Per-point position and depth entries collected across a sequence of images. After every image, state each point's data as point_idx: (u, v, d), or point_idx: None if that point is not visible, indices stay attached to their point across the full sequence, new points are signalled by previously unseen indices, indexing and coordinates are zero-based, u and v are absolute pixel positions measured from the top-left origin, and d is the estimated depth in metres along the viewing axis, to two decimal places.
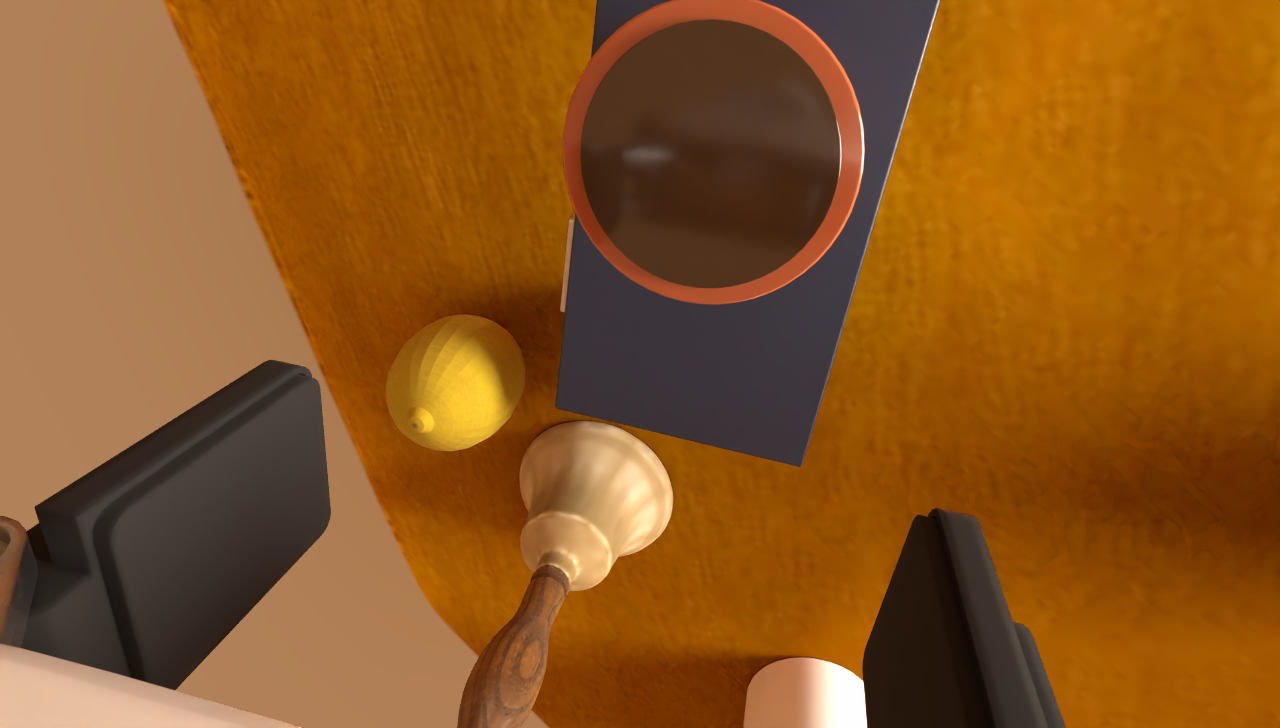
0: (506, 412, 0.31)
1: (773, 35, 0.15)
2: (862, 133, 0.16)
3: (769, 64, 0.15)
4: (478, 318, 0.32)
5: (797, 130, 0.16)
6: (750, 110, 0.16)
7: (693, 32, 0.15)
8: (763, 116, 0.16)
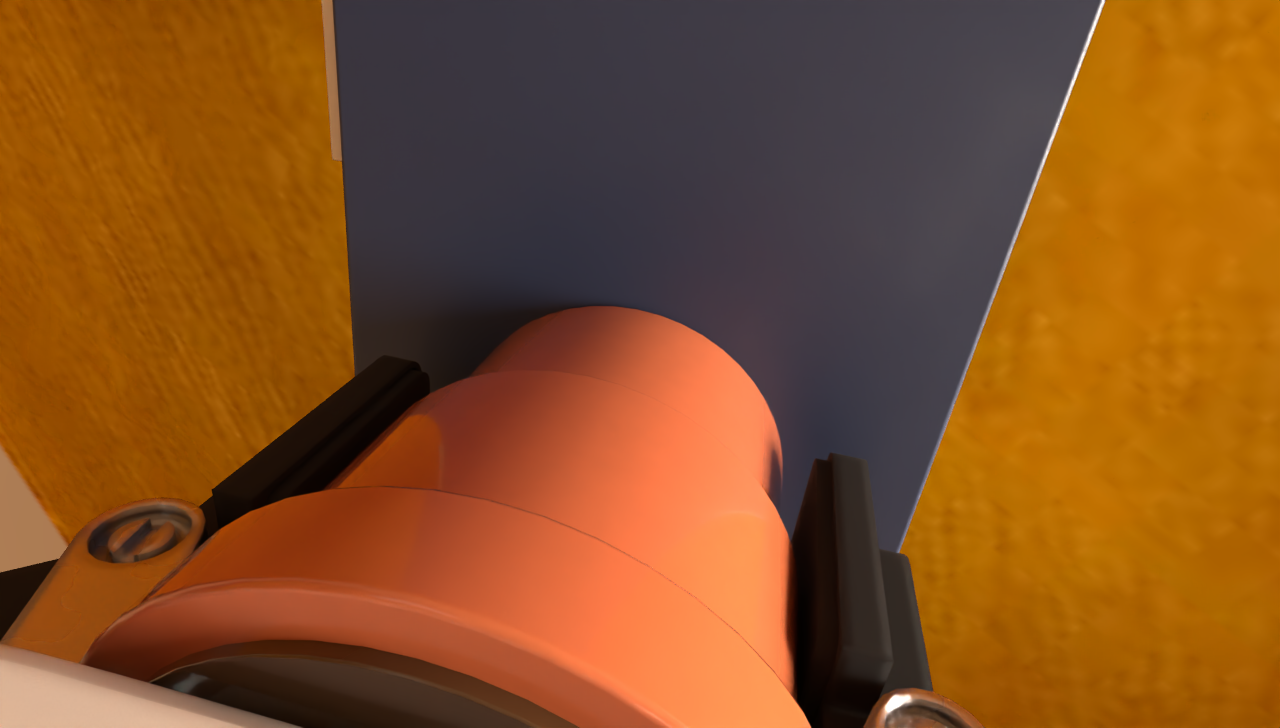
0: None
1: (546, 710, 0.05)
2: None
3: None
4: None
5: None
6: None
7: (306, 678, 0.05)
8: None
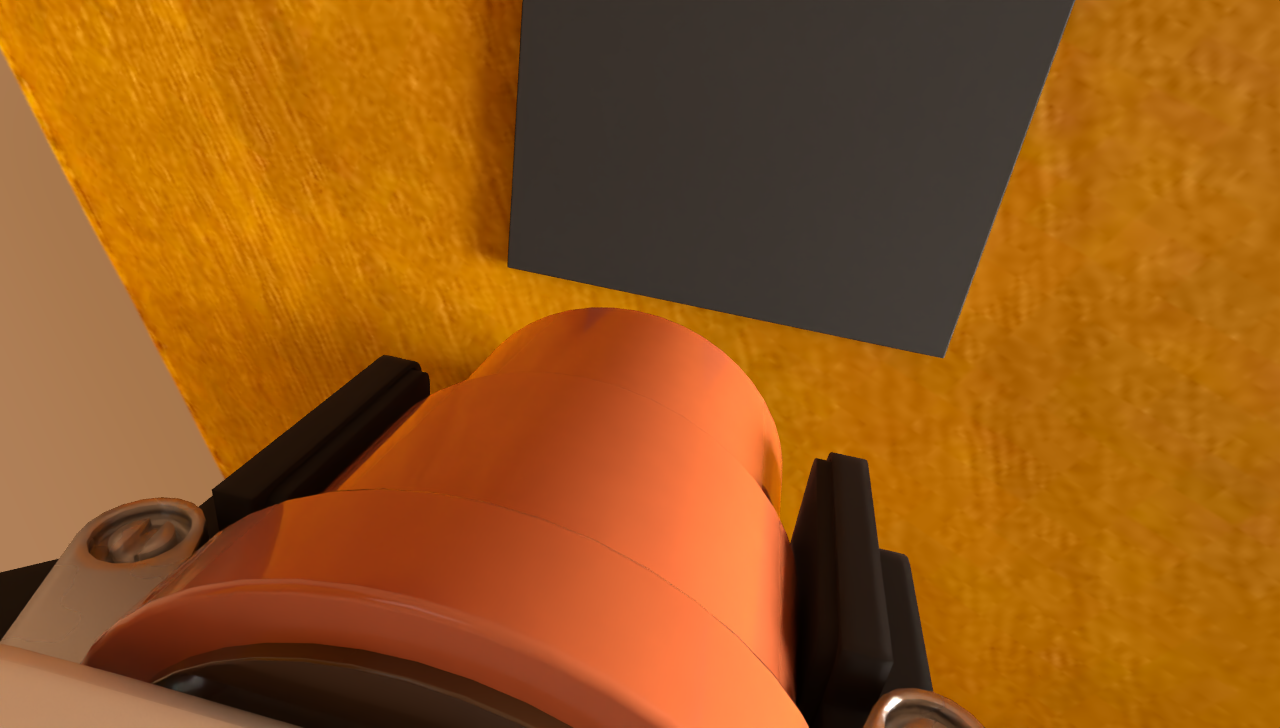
0: None
1: (545, 712, 0.05)
2: None
3: None
4: None
5: None
6: None
7: (306, 681, 0.05)
8: None
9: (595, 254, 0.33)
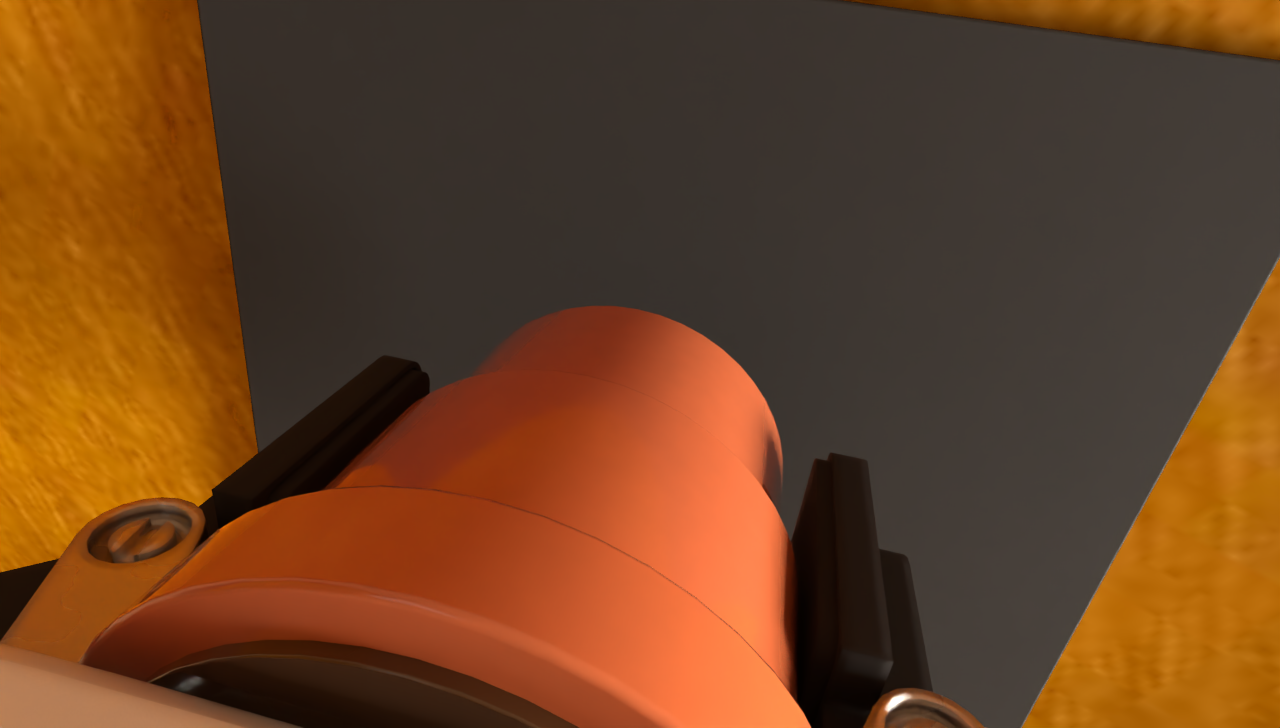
0: None
1: (546, 711, 0.05)
2: None
3: None
4: None
5: None
6: None
7: (306, 678, 0.05)
8: None
9: None
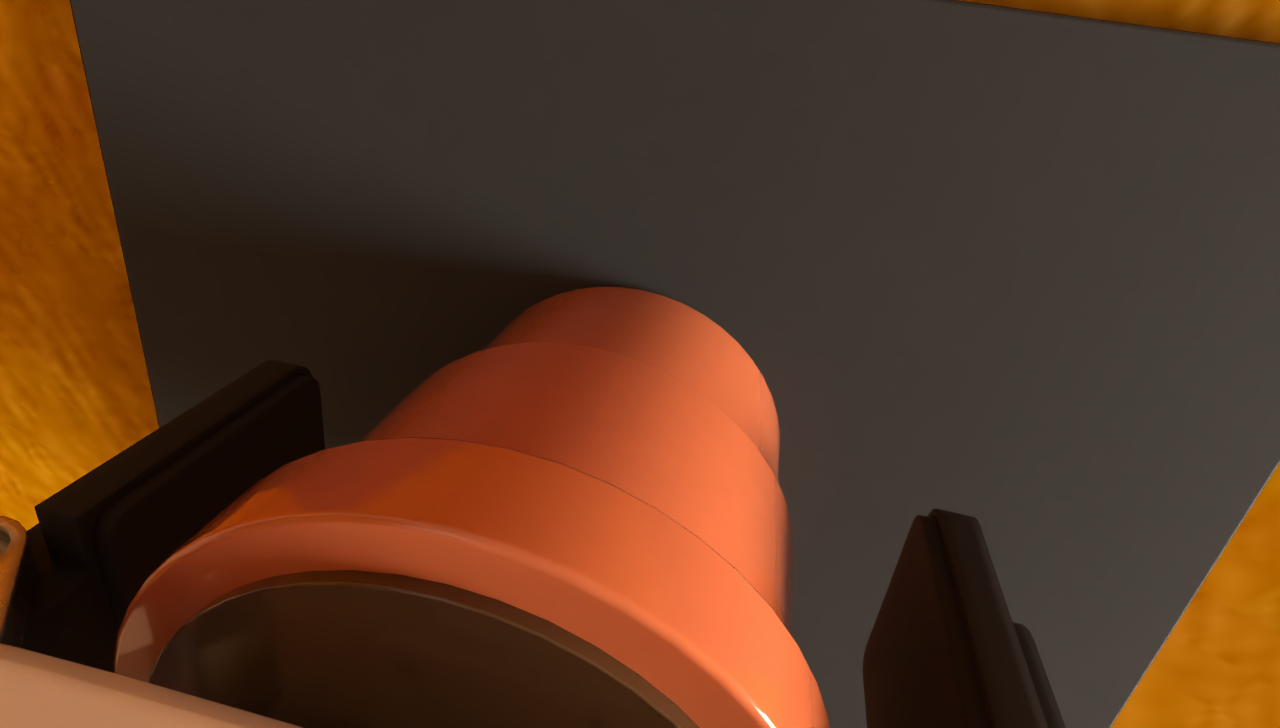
0: None
1: (565, 630, 0.05)
2: None
3: (558, 698, 0.05)
4: None
5: None
6: None
7: (347, 604, 0.06)
8: None
9: None
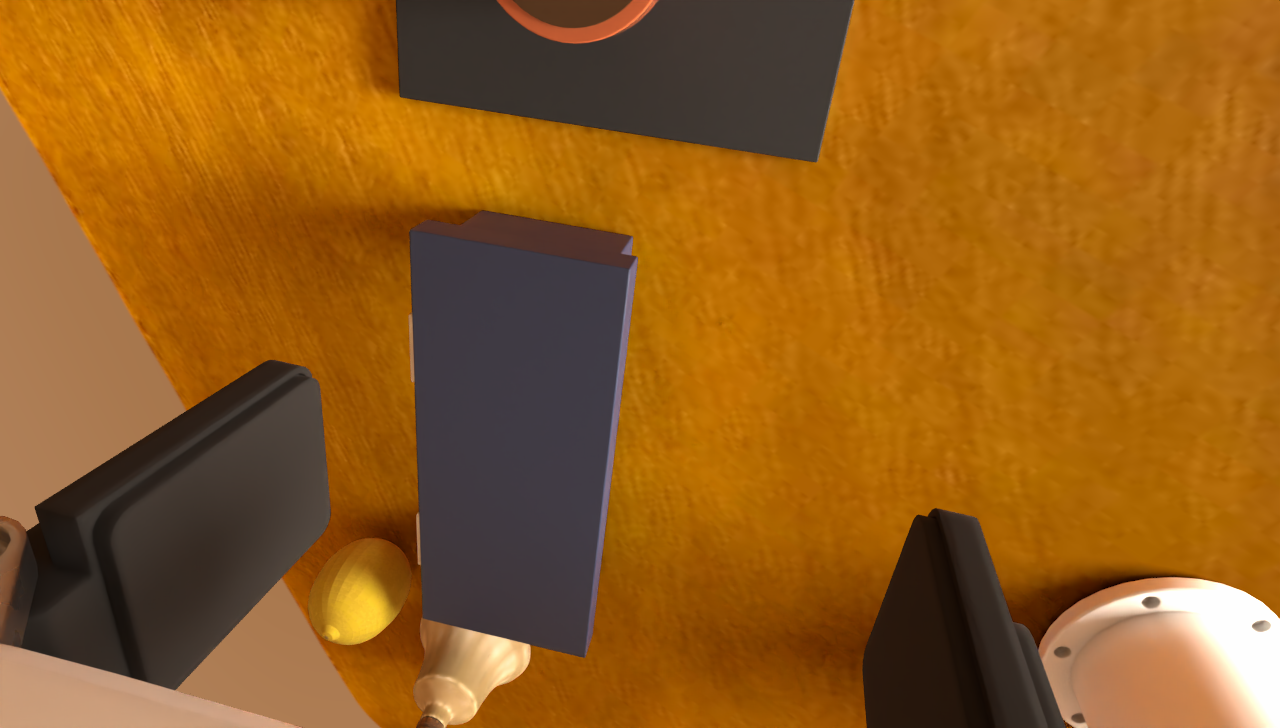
0: (394, 613, 0.45)
1: None
2: None
3: None
4: (373, 545, 0.46)
5: None
6: None
7: None
8: None
9: (481, 76, 0.34)
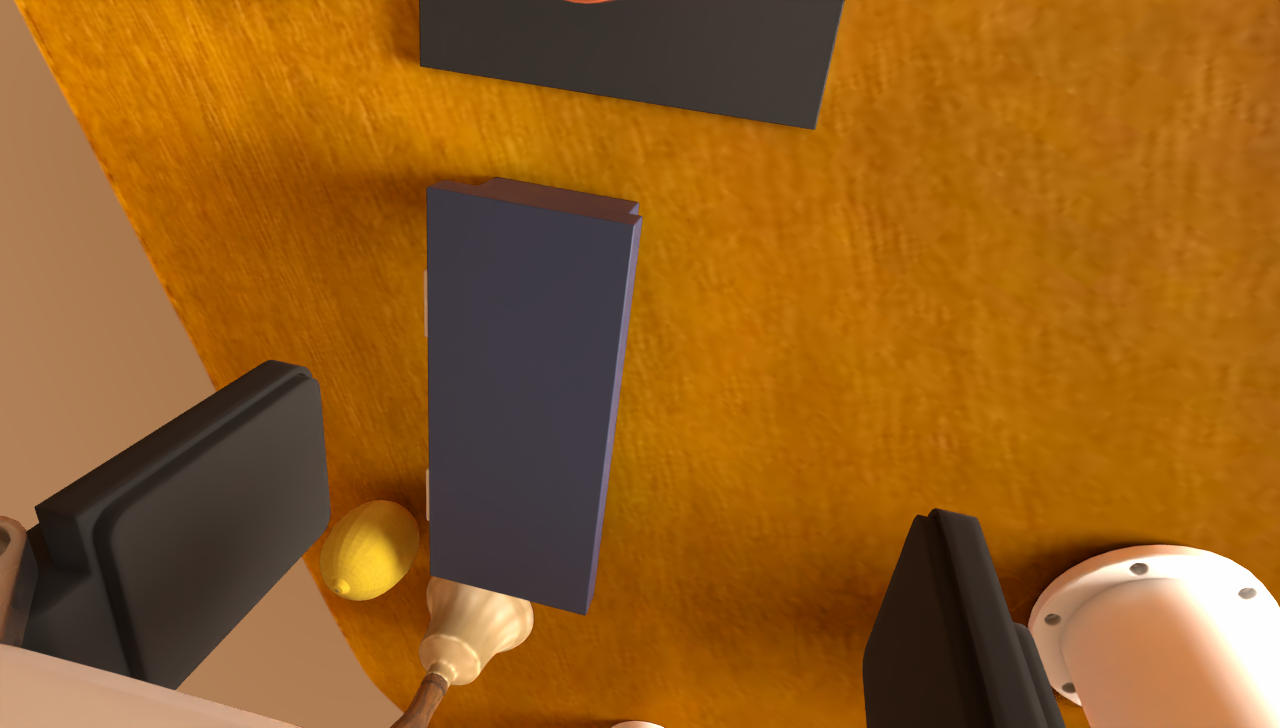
0: (402, 572, 0.46)
1: None
2: None
3: None
4: (384, 506, 0.47)
5: None
6: None
7: None
8: None
9: (497, 46, 0.35)
